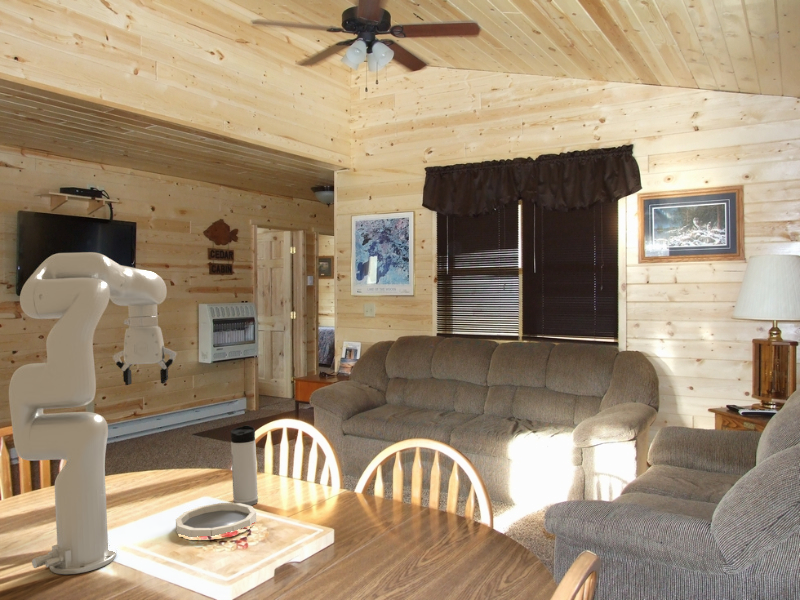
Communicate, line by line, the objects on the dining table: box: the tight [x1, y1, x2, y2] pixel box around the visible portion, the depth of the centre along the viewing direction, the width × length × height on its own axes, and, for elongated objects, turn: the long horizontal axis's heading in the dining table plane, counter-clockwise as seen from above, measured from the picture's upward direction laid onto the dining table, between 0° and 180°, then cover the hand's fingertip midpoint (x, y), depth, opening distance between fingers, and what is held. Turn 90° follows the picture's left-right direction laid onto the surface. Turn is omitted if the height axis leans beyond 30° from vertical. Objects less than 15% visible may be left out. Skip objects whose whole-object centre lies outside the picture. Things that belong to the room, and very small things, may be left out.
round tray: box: [175, 502, 257, 537], centre depth 151 cm, size 18×18×2 cm
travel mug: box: [230, 424, 259, 506], centre depth 167 cm, size 6×7×20 cm
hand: (146, 383), depth 177 cm, fingers open, 9 cm apart
